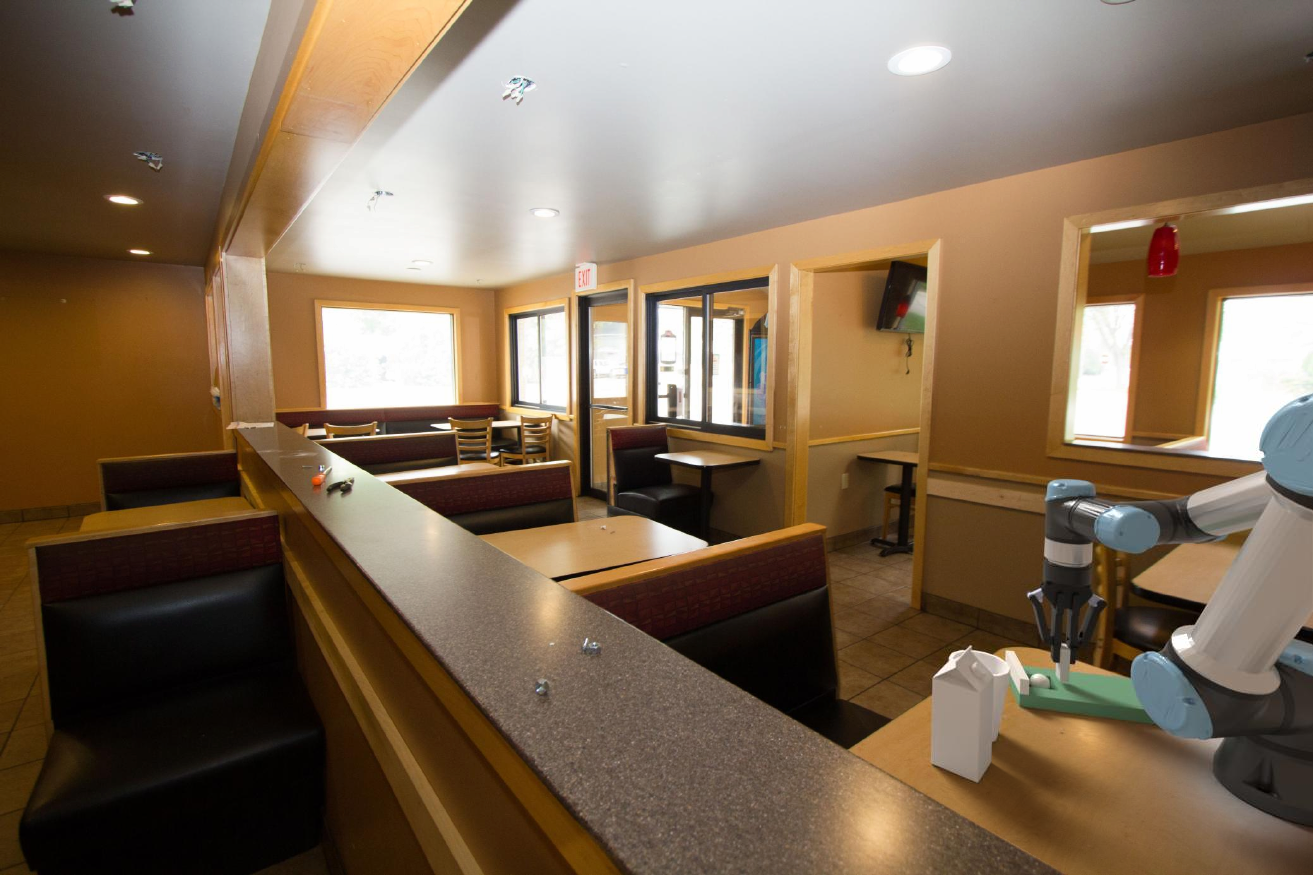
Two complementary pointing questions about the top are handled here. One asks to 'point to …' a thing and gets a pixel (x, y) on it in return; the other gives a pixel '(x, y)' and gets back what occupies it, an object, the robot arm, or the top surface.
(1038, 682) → the golf ball
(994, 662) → the foam cup
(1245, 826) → the top surface
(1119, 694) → the putting board
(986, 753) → the milk carton
